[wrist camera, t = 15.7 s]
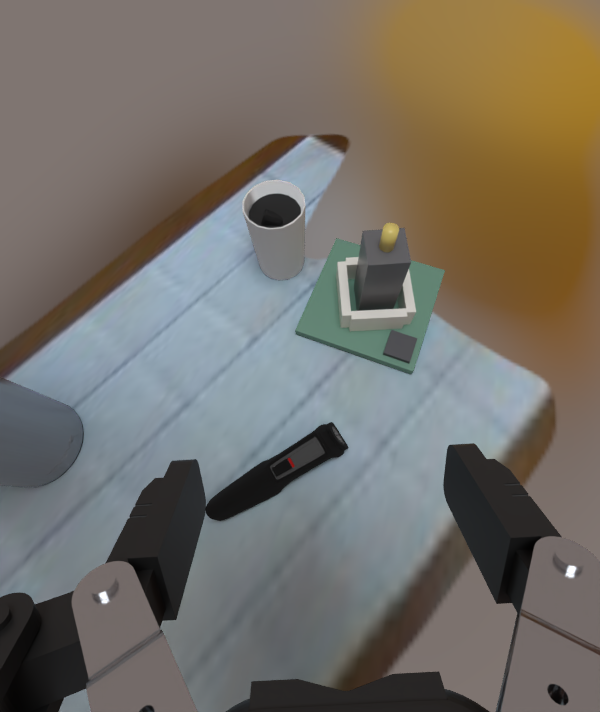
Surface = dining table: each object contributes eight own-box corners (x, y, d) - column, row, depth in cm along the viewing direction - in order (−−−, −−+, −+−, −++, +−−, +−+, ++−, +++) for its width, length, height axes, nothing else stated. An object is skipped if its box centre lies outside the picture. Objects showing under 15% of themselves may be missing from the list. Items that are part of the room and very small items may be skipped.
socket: (340, 331, 44) (342, 319, 41) (335, 273, 47) (337, 258, 44) (410, 328, 44) (416, 316, 41) (401, 269, 47) (406, 254, 44)
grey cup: (304, 285, 48) (301, 231, 39) (252, 281, 48) (236, 227, 39) (310, 241, 50) (308, 181, 41) (260, 238, 51) (247, 178, 42)
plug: (357, 315, 45) (371, 249, 33) (353, 286, 46) (365, 213, 35) (391, 313, 45) (417, 245, 33) (386, 284, 46) (410, 209, 35)
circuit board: (295, 334, 45) (295, 328, 44) (336, 243, 50) (336, 235, 48) (411, 374, 43) (414, 369, 41) (442, 275, 48) (446, 267, 46)
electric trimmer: (206, 495, 40) (197, 494, 37) (331, 420, 42) (332, 414, 39) (221, 529, 38) (213, 531, 35) (350, 450, 40) (352, 446, 38)
